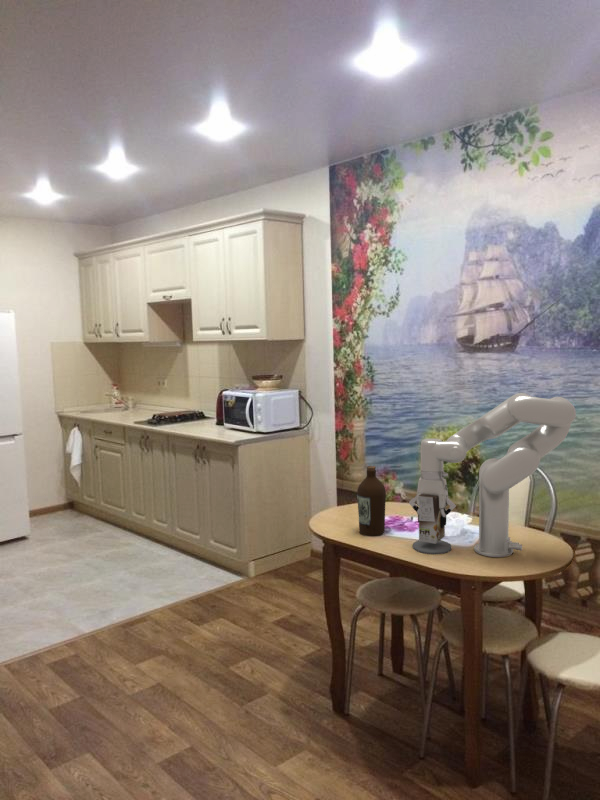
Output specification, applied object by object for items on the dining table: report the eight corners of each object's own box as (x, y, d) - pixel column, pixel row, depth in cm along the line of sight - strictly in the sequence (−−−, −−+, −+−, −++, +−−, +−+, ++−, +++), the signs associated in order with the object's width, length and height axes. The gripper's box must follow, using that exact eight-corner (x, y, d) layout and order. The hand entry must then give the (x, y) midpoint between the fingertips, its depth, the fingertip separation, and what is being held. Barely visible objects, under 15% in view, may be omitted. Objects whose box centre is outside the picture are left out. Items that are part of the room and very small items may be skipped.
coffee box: (436, 544, 220) (436, 497, 218) (418, 541, 223) (418, 495, 222) (445, 536, 228) (445, 491, 226) (427, 533, 231) (427, 489, 229)
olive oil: (373, 526, 252) (372, 462, 249) (392, 533, 243) (391, 467, 241) (351, 531, 246) (350, 466, 243) (370, 538, 237) (369, 471, 235)
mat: (454, 544, 229) (454, 541, 229) (446, 556, 217) (446, 553, 217) (418, 540, 235) (418, 537, 234) (408, 551, 223) (408, 548, 223)
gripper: (459, 474, 223) (459, 525, 225) (410, 470, 230) (410, 520, 232) (455, 479, 216) (455, 531, 218) (404, 475, 223) (404, 526, 225)
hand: (432, 525), depth 225 cm, fingers closed on coffee box, 6 cm apart
